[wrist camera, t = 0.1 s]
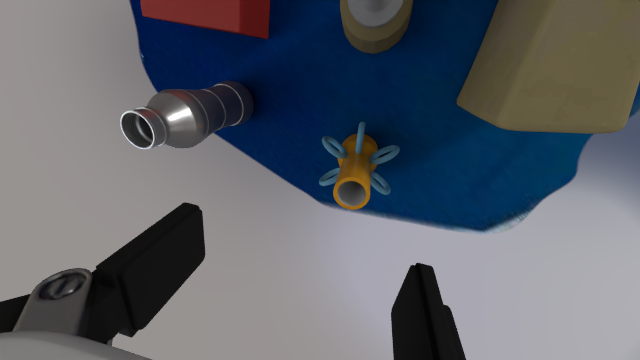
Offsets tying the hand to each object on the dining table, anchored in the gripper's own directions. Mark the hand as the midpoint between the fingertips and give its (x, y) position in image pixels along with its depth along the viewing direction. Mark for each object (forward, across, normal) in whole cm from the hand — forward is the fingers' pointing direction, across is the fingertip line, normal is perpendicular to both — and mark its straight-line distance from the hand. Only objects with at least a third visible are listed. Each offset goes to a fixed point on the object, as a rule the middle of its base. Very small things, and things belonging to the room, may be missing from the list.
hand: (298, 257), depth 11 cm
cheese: (+31, -16, -16) cm, 39 cm away
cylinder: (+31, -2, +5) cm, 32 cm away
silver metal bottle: (+31, +19, +1) cm, 37 cm away
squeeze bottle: (+31, 0, -13) cm, 34 cm away
